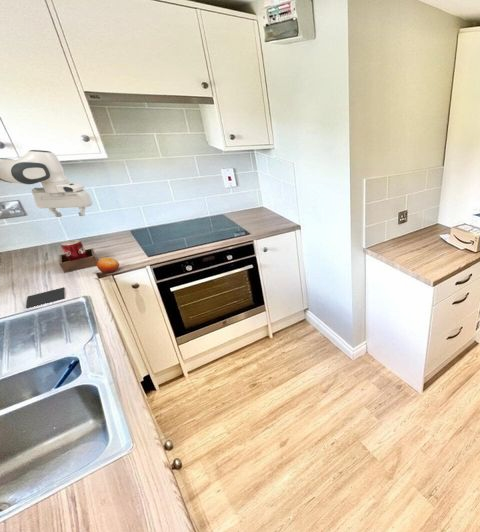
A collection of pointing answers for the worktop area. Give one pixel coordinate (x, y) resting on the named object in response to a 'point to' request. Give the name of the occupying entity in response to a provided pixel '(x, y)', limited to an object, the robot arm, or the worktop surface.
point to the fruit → (107, 265)
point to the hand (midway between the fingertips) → (71, 216)
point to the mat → (45, 297)
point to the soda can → (74, 250)
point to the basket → (78, 262)
